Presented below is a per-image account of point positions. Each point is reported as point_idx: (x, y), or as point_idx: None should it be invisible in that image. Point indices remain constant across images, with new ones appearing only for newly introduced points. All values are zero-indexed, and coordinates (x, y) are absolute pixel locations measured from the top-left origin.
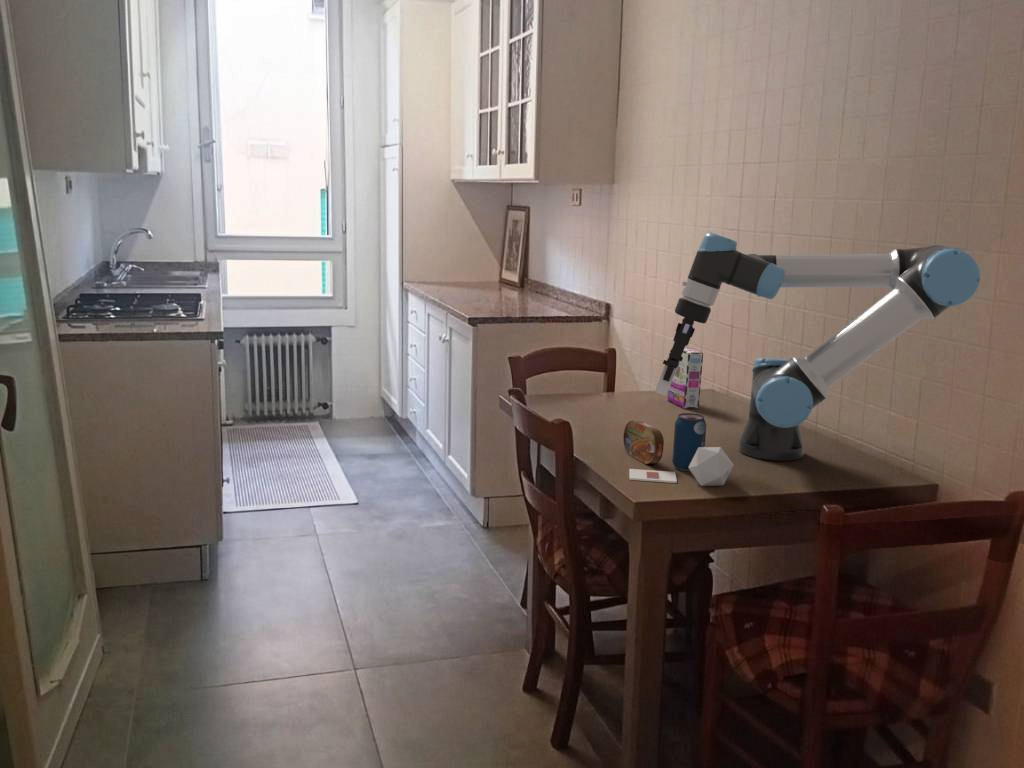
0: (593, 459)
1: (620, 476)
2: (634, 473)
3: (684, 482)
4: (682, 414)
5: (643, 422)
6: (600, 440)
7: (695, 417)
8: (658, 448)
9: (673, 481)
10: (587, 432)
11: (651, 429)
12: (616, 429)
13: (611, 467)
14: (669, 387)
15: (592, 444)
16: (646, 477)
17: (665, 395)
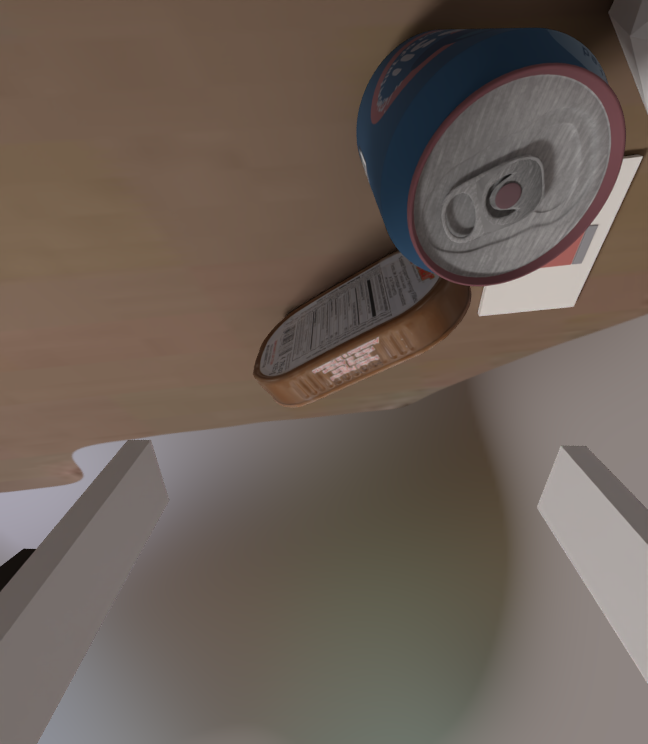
0: (385, 390)
1: (533, 326)
2: (528, 299)
3: (633, 120)
4: (431, 261)
5: (304, 374)
6: (204, 398)
7: (536, 158)
8: None
9: (636, 170)
10: (150, 425)
11: (426, 343)
12: (60, 382)
13: (449, 352)
14: (638, 501)
15: (252, 406)
16: (575, 264)
17: (587, 453)
